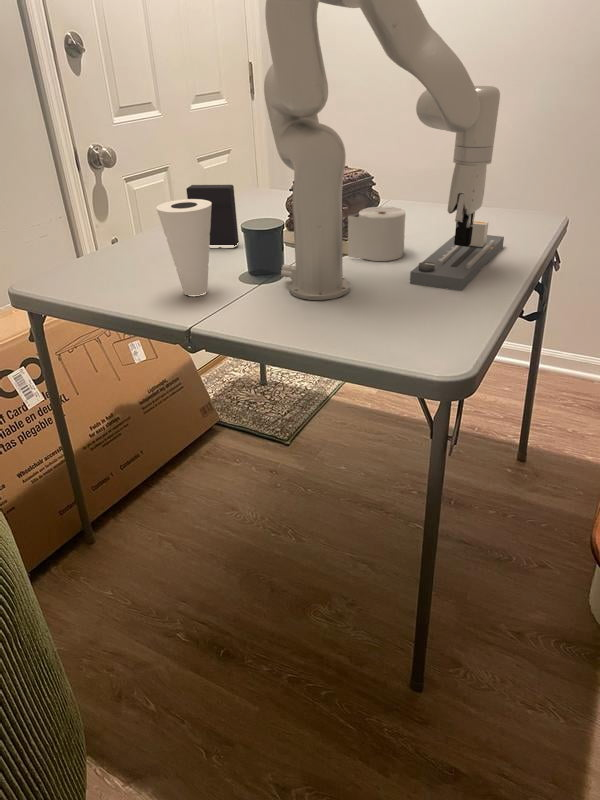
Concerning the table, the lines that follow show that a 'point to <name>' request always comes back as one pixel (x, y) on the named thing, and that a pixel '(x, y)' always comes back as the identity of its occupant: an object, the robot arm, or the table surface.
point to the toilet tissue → (377, 234)
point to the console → (455, 264)
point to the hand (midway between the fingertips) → (462, 244)
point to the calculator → (219, 211)
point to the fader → (479, 234)
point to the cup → (188, 240)
